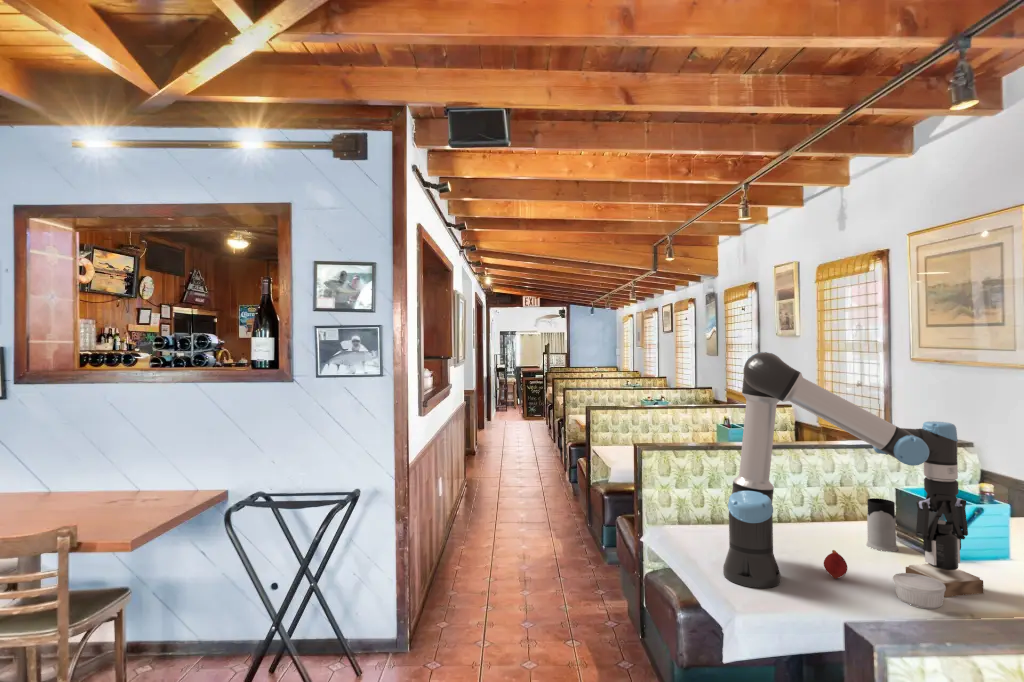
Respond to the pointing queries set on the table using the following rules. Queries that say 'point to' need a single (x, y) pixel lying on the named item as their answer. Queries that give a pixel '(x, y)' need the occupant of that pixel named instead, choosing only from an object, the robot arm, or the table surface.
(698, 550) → the table surface
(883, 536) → the glass holder
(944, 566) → the supplement bottle
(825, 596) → the table surface
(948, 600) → the table surface
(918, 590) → the ramekin
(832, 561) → the onion
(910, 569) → the plinth
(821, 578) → the table surface
